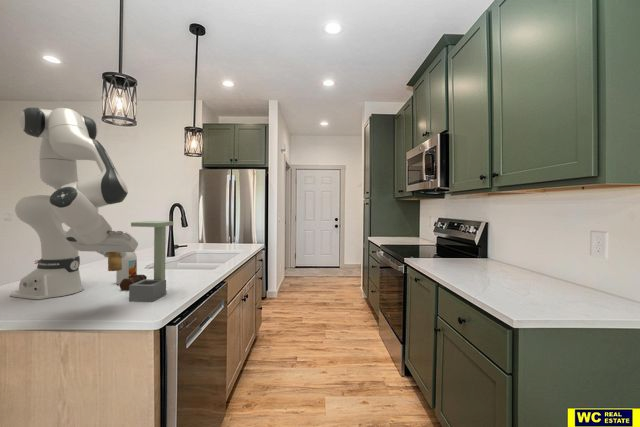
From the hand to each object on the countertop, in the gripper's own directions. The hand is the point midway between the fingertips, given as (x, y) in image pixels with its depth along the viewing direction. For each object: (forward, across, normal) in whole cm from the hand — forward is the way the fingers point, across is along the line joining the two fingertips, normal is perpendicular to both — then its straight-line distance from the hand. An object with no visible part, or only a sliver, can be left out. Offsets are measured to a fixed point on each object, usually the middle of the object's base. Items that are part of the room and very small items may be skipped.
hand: (116, 256), depth 104 cm
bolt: (+30, +9, -4) cm, 31 cm away
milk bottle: (+32, +16, -7) cm, 36 cm away
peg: (+3, 0, +4) cm, 5 cm away
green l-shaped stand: (+21, -6, +4) cm, 22 cm away
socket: (+19, -6, +6) cm, 21 cm away
